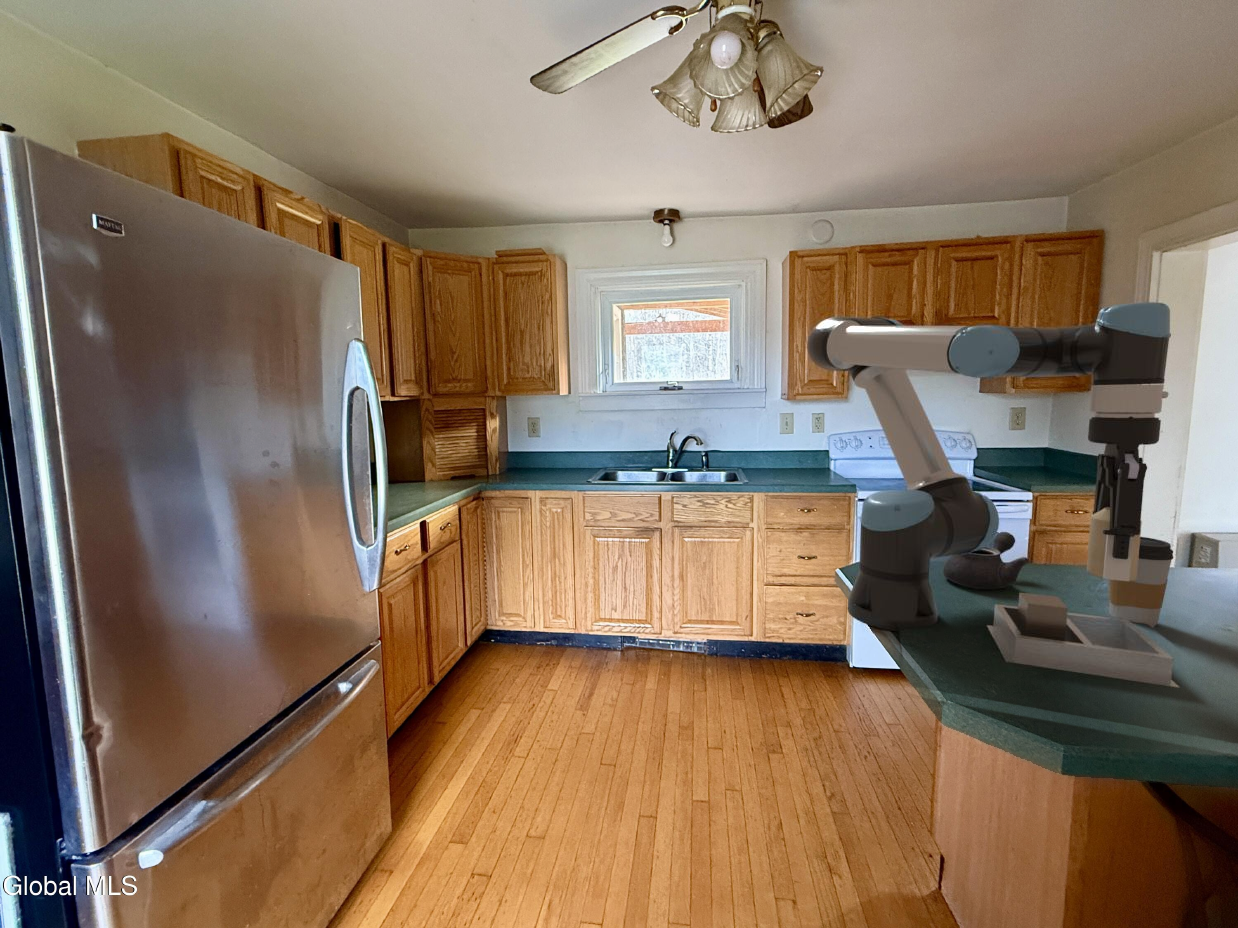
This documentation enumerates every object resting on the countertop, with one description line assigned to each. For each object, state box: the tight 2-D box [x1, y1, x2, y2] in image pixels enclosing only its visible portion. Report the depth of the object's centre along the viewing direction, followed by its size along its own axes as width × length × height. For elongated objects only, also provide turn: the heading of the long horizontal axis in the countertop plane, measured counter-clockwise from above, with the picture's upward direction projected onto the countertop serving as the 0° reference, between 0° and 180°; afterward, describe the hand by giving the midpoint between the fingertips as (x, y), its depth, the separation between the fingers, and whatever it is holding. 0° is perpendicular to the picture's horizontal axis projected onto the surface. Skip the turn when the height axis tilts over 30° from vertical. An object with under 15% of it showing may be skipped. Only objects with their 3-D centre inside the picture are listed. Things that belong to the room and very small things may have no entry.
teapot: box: [942, 531, 1030, 590], centre depth 120 cm, size 19×15×10 cm
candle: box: [1086, 507, 1143, 581], centre depth 80 cm, size 6×6×10 cm
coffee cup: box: [1108, 536, 1174, 629], centre depth 98 cm, size 8×8×15 cm
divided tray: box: [986, 603, 1181, 688], centre depth 85 cm, size 20×14×5 cm
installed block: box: [1017, 592, 1069, 641], centre depth 87 cm, size 5×5×8 cm
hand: (1110, 572), depth 81 cm, fingers closed on candle, 5 cm apart
